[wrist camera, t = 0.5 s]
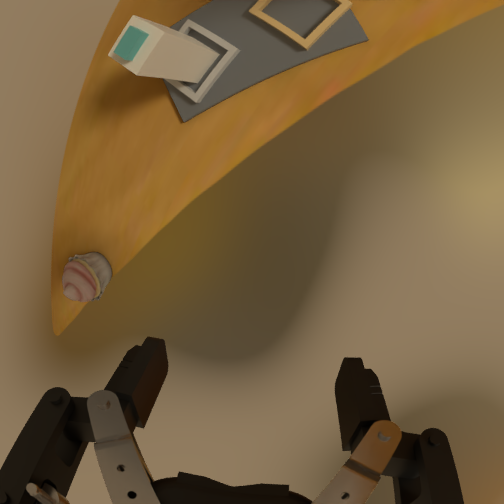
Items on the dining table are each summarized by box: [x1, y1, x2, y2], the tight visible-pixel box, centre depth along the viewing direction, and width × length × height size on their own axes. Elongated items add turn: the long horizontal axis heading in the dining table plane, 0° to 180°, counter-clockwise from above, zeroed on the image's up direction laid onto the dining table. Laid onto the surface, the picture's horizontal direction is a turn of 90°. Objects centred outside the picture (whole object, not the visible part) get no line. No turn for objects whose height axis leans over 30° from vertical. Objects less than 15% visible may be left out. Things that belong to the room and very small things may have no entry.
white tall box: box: [108, 15, 220, 83], centre depth 23 cm, size 4×4×13 cm
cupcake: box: [62, 252, 112, 302], centre depth 45 cm, size 9×9×10 cm
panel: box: [163, 0, 369, 122], centre depth 26 cm, size 13×25×2 cm, turn 116°
